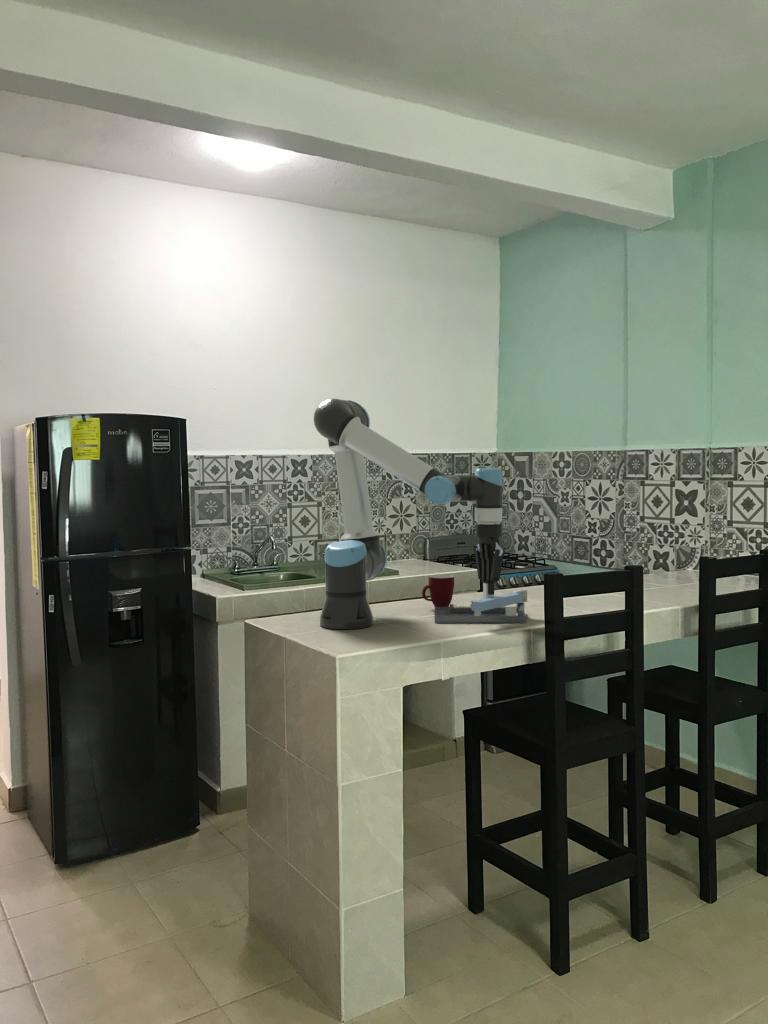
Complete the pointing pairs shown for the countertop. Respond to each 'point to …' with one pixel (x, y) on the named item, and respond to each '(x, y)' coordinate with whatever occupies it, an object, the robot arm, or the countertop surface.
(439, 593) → the mug
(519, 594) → the bar
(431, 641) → the countertop surface
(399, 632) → the countertop surface
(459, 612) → the server tray
